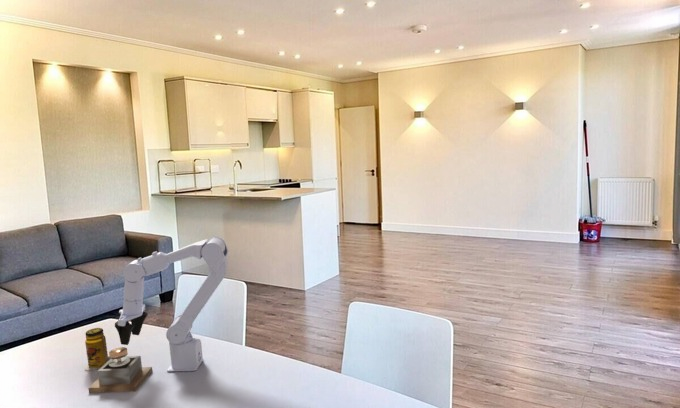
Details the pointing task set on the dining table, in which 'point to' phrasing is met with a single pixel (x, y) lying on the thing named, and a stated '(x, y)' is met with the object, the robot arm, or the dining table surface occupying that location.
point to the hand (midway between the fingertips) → (130, 339)
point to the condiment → (96, 348)
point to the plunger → (118, 357)
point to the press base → (121, 377)
